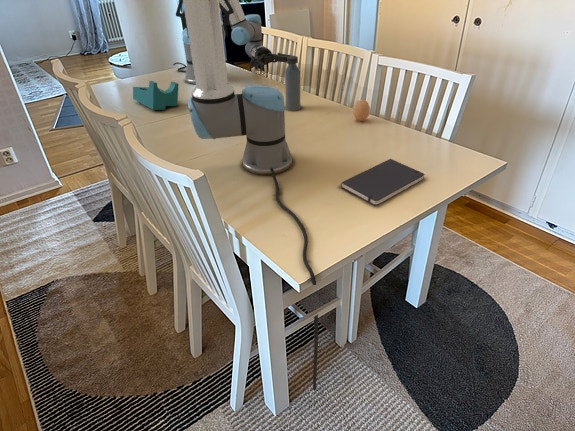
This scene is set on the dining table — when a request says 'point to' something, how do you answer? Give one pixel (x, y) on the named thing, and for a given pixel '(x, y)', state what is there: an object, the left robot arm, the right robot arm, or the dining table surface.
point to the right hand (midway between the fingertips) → (208, 36)
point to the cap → (292, 59)
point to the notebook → (382, 181)
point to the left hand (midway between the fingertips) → (278, 65)
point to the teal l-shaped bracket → (156, 96)
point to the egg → (361, 110)
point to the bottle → (292, 87)
